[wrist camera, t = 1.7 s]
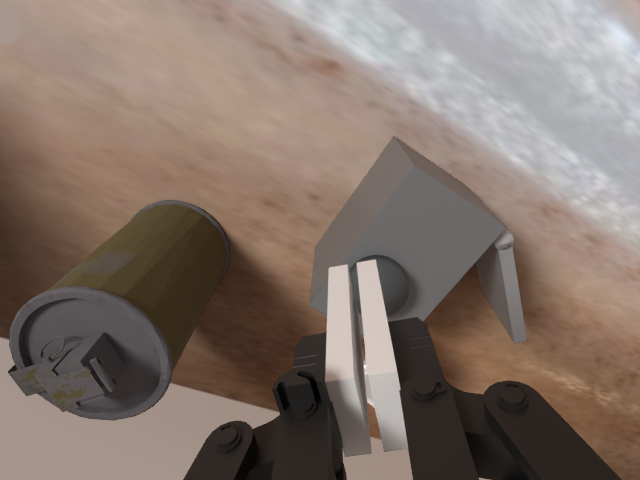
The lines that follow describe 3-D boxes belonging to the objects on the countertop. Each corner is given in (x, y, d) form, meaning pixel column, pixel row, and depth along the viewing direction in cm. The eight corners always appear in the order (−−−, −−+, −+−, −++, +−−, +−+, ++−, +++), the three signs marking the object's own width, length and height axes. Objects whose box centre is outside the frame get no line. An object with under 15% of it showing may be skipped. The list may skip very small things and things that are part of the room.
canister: (201, 184, 42) (95, 290, 23) (246, 277, 45) (186, 430, 27) (103, 221, 43) (-68, 345, 25) (154, 306, 47) (38, 470, 29)
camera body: (315, 247, 44) (308, 316, 32) (393, 136, 39) (418, 170, 28) (384, 288, 45) (400, 368, 34) (467, 186, 41) (518, 238, 29)
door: (478, 288, 44) (511, 344, 36) (460, 197, 40) (493, 235, 32) (493, 285, 44) (530, 339, 35) (477, 193, 40) (514, 230, 32)
